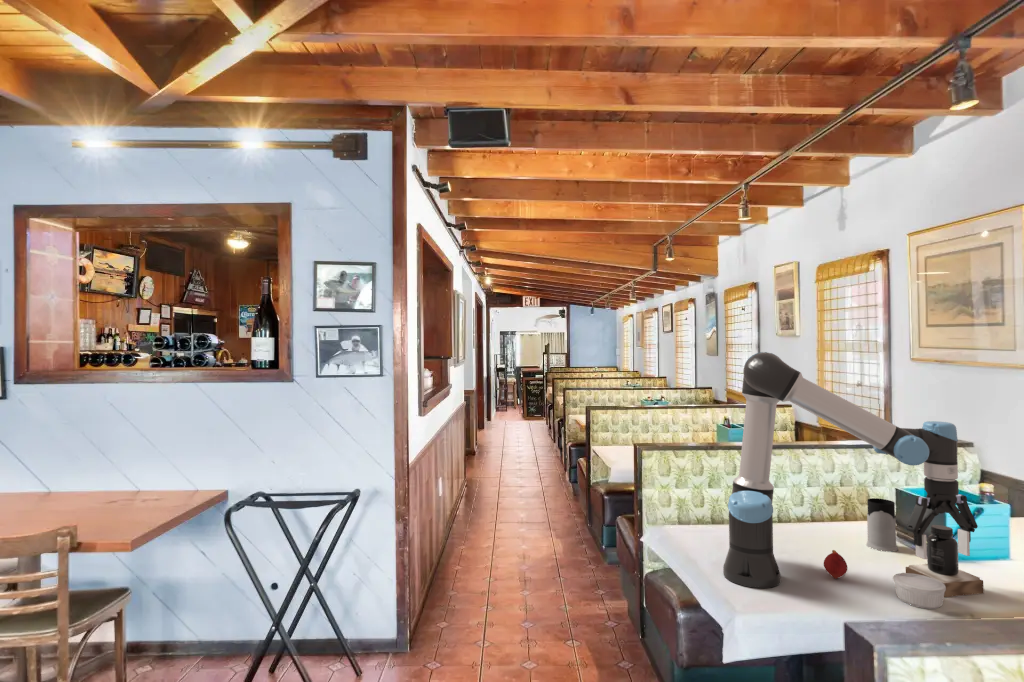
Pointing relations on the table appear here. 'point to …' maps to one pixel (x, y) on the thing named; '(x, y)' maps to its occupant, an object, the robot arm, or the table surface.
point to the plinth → (951, 581)
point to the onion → (835, 565)
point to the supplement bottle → (942, 551)
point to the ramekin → (919, 590)
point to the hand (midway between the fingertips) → (942, 555)
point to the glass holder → (881, 524)
